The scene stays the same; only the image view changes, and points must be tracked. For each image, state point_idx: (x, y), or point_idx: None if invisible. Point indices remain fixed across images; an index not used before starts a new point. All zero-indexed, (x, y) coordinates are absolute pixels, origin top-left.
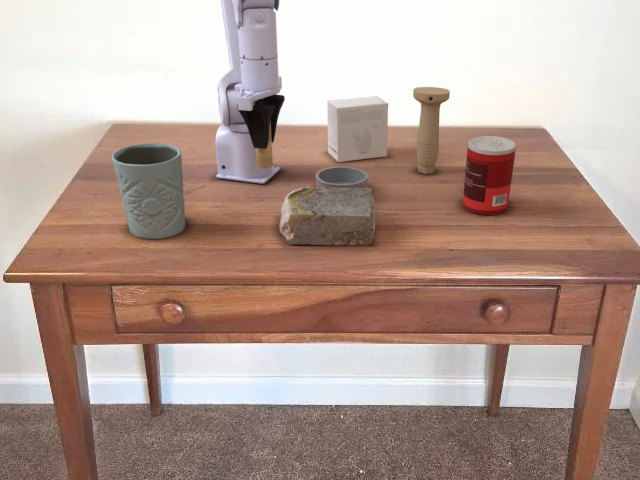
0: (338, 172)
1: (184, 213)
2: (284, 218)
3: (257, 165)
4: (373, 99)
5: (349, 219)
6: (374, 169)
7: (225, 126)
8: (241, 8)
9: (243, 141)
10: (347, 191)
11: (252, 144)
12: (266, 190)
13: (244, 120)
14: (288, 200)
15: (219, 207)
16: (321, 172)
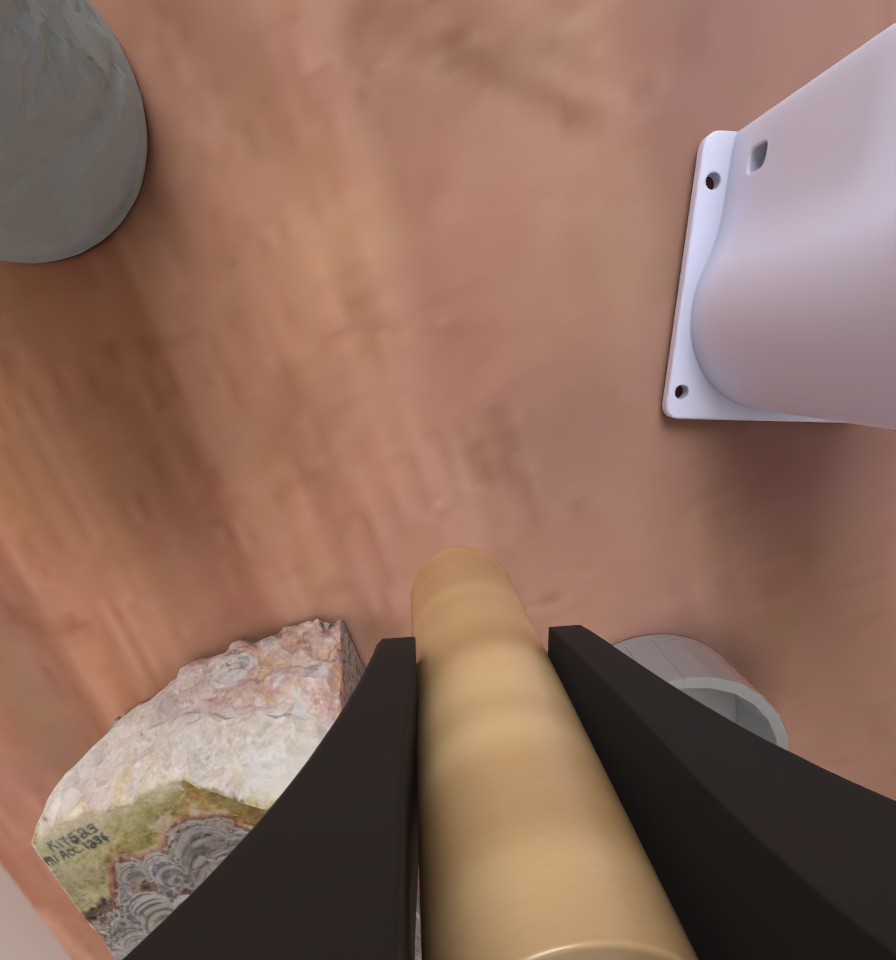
0: (758, 719)
1: (37, 240)
2: (110, 754)
3: (425, 565)
4: None
5: None
6: (887, 754)
7: None
8: None
9: (863, 291)
10: None
11: (846, 360)
12: (601, 447)
13: (222, 863)
14: (164, 788)
15: (355, 317)
16: (712, 686)
